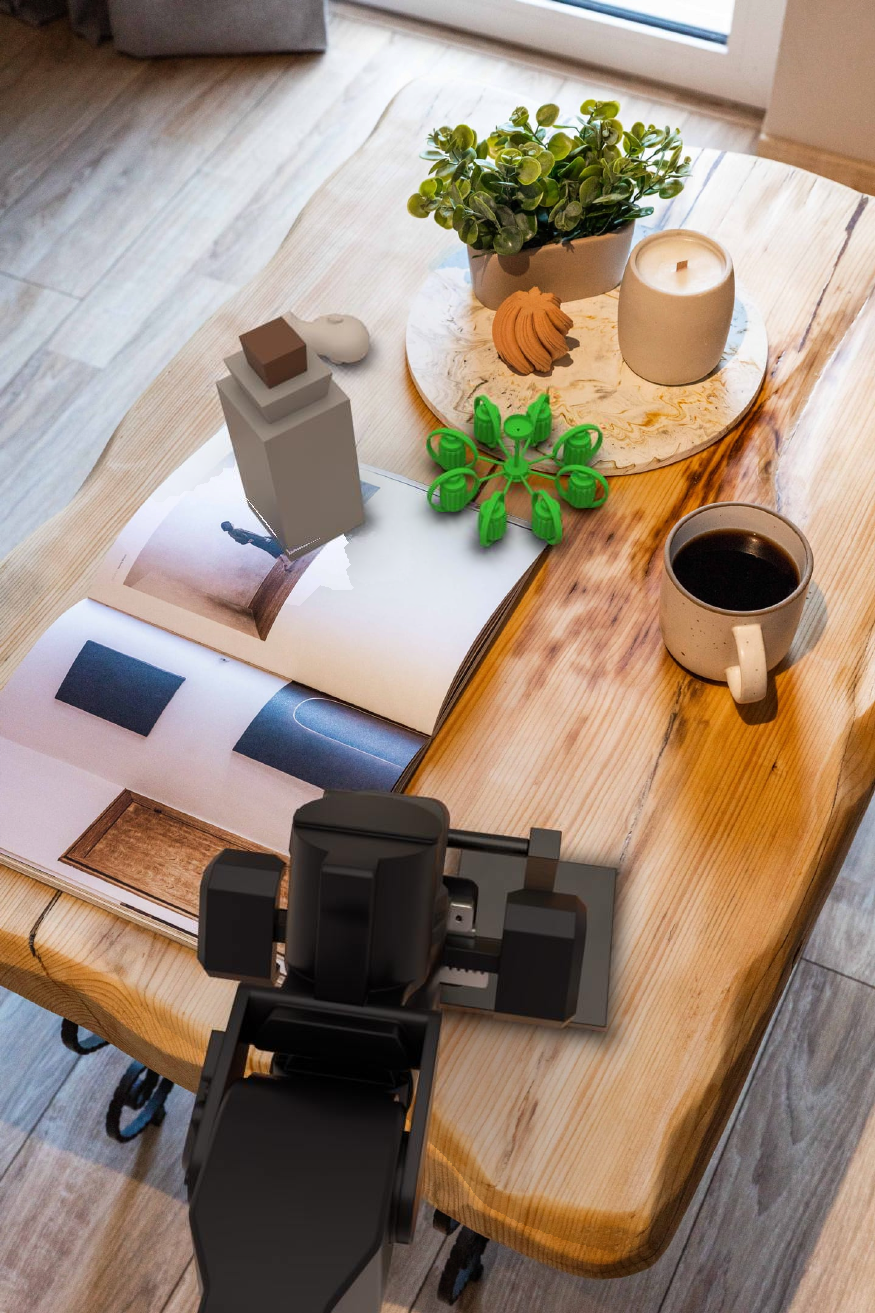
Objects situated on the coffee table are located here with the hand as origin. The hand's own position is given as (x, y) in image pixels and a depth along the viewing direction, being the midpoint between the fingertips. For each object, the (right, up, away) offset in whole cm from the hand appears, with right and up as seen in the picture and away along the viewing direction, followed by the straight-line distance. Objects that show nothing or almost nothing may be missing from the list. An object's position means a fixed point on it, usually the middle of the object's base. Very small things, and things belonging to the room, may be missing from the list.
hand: (414, 867), depth 62 cm
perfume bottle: (-9, +23, +25) cm, 35 cm away
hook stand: (+3, -5, +7) cm, 10 cm away
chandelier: (+8, +25, +26) cm, 37 cm away
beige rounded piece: (-8, +38, +35) cm, 52 cm away
